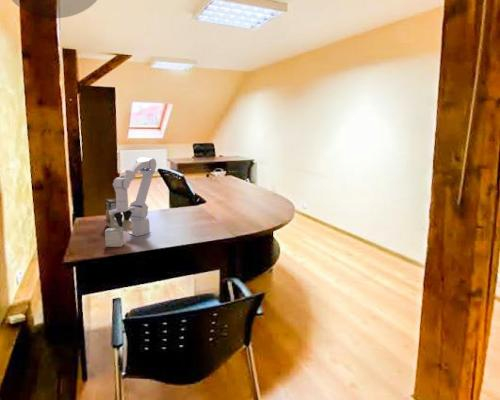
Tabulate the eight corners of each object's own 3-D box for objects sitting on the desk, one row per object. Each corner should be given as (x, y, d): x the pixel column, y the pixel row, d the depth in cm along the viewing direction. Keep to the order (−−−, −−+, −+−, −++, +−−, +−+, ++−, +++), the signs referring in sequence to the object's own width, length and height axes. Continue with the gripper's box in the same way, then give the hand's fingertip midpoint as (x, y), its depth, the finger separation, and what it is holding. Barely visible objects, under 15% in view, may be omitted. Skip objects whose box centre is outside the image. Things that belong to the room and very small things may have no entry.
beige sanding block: (119, 226, 200) (118, 217, 199) (131, 230, 193) (131, 221, 192) (113, 227, 198) (113, 218, 197) (126, 232, 191) (126, 222, 190)
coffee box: (106, 225, 223) (104, 199, 220) (116, 223, 228) (115, 198, 224) (111, 228, 217) (109, 202, 213) (122, 226, 221) (120, 200, 217)
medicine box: (123, 244, 191) (123, 228, 189) (121, 247, 187) (120, 230, 185) (108, 244, 191) (107, 228, 189) (105, 247, 187) (104, 230, 185)
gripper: (129, 197, 200) (130, 221, 203) (105, 201, 189) (106, 226, 192) (137, 199, 195) (138, 223, 198) (112, 203, 184) (113, 229, 187)
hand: (123, 225), depth 195 cm, fingers closed on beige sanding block, 3 cm apart
